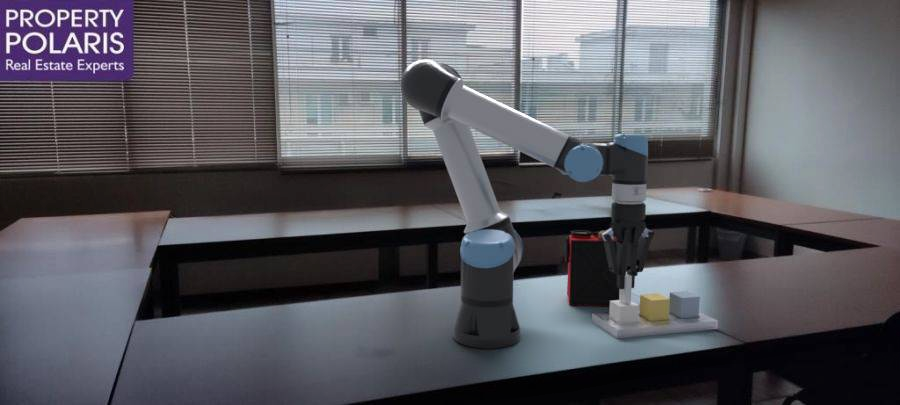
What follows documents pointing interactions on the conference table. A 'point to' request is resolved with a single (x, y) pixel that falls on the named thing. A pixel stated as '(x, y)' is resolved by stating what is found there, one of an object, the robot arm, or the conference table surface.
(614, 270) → the robot arm
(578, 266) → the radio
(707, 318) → the key panel
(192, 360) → the conference table surface
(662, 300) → the mustard key
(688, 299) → the slate key
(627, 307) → the ivory key
